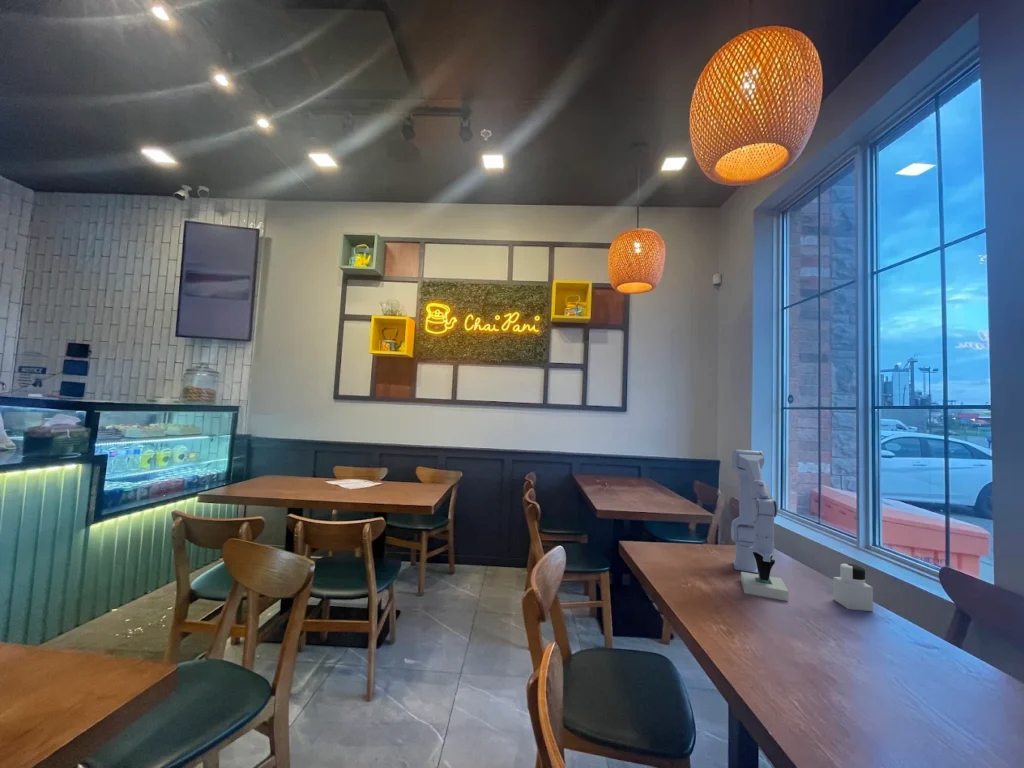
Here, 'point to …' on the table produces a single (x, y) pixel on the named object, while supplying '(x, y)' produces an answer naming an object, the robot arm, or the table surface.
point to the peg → (764, 580)
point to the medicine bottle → (852, 588)
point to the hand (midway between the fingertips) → (763, 578)
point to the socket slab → (764, 587)
